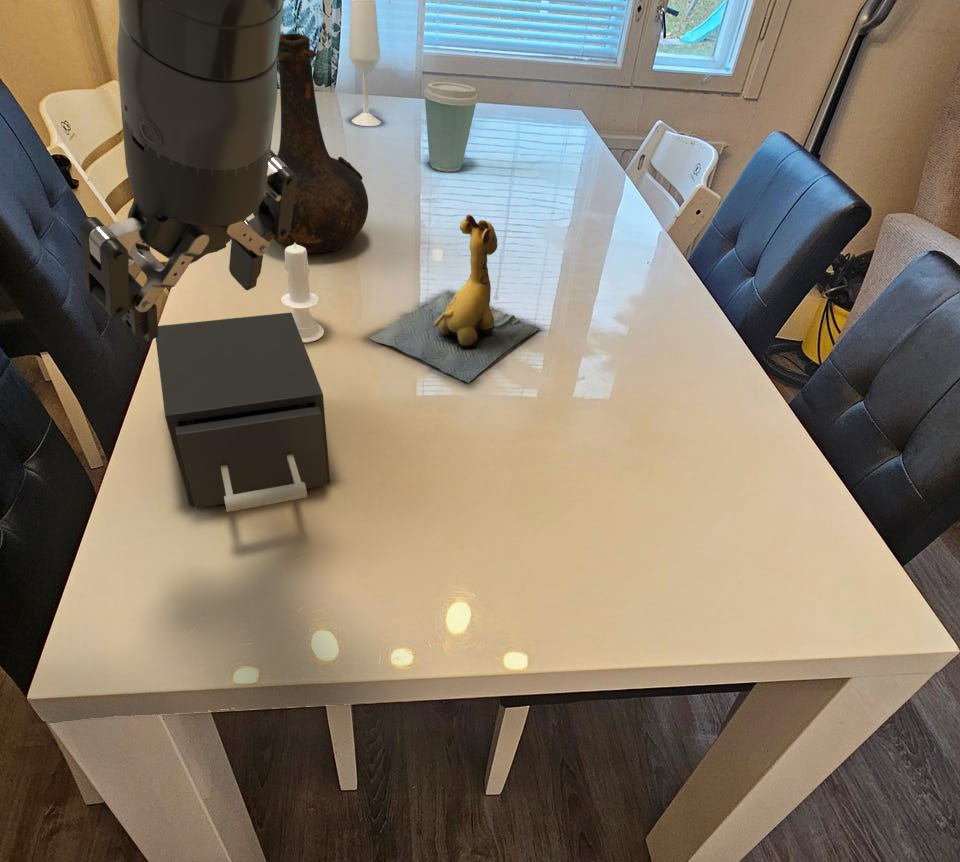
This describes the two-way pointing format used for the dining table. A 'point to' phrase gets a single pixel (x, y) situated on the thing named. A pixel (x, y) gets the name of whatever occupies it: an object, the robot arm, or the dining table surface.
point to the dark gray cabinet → (234, 371)
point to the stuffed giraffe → (460, 319)
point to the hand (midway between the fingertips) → (194, 304)
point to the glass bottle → (314, 160)
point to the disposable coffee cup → (448, 123)
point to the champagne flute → (364, 50)
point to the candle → (301, 293)
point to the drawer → (253, 456)
